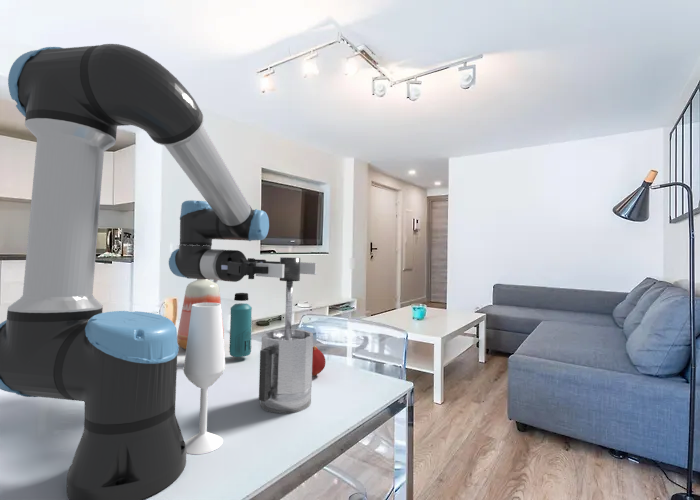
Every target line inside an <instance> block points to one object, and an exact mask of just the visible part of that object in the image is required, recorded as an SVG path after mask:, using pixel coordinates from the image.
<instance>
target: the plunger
mask: <svg viewBox="0 0 700 500" xmlns="http://www.w3.org/2000/svg"><path fill="white" fill-rule="evenodd" d="M279 262H280V264H285V265H284V278H279V281H280V282H286V286H285V287H286V288H285V313H284V314H285V318H284V329H285V338H277V340H297V339H300V338H291V329H292V323H293V322H292V321H293V293H294V292H293V291H294V290H293V287H294V282H299V281H300V280H301V274H300V262H301V257H284V256H283V257H282V256H281V257H279ZM300 282H301V281H300Z"/></svg>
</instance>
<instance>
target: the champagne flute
mask: <svg viewBox="0 0 700 500" xmlns="http://www.w3.org/2000/svg"><path fill="white" fill-rule="evenodd" d="M222 318H223V310H222V303H221V304H220V303H197V304H193V305H192V308H191V316H190V324H189V332H188V339H187V347H186V350H185V356H184V365H183V373H184V376H185V377H186V379H188V381H189V382H190V383H192V384H193V385H194V386H195V387H197V388H199V389H200V398H199V400H200V402H199V403H200V404H199V432H198V433H196V434H194V435H193V436H191V437H189V438H188V439H186V440H184V442H185V445H186V454H189V455H203V454H208V453H211V452H213V451H215V450H217V449H219V448H220V447H221V446H222V445H223V442H224V439H223V437H221V436H220V435H218V434H215V433H212V432H209V431H208V428H207V427H208V403H209V402H208V397H209V396H208V393H209V392H208V391H209V387H211V386H213V385H214V384H215V383H216V382H217V381H218V380H219V379H220V378H221V377H222V375H223V373H224V371H225V369H226V357H225V356H226V355H225V342H224V341H225V340H224V339H225V337H224V338H223V328H224V322H223V323H222Z"/></svg>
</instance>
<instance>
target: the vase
mask: <svg viewBox="0 0 700 500" xmlns="http://www.w3.org/2000/svg"><path fill="white" fill-rule="evenodd" d="M221 300H222V299H221V293H220V286H219V284H218V282H217V283H214V282H213V280H207V279H195V280H193V281H191V282H190V283H188V284H187V285H186V288H185V293H184V297H183V303H182V308H181V312H180V319H179V324H178V329H177V344H178V347H179V348H180V349H183V350H185V351H186V347H187V339H188V332H189V324H190V316H191V308H192V305H193V304H197V303H220V304H221V305H222V302H221ZM223 319H224V318H223V317H222V323H223V324H224V321H223ZM223 338H224V339H225V328H224V327H223Z"/></svg>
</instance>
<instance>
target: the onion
mask: <svg viewBox="0 0 700 500" xmlns="http://www.w3.org/2000/svg"><path fill="white" fill-rule="evenodd" d="M325 367H326V357H325V355H324V353H323V352H322V351H321V350H320V349H319V348H318V347H317V346H316V345H315V346H314V345H313V358H312V377H316V376H318V375H319V374H320V373H322V371H323V370H324V369H325Z"/></svg>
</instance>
